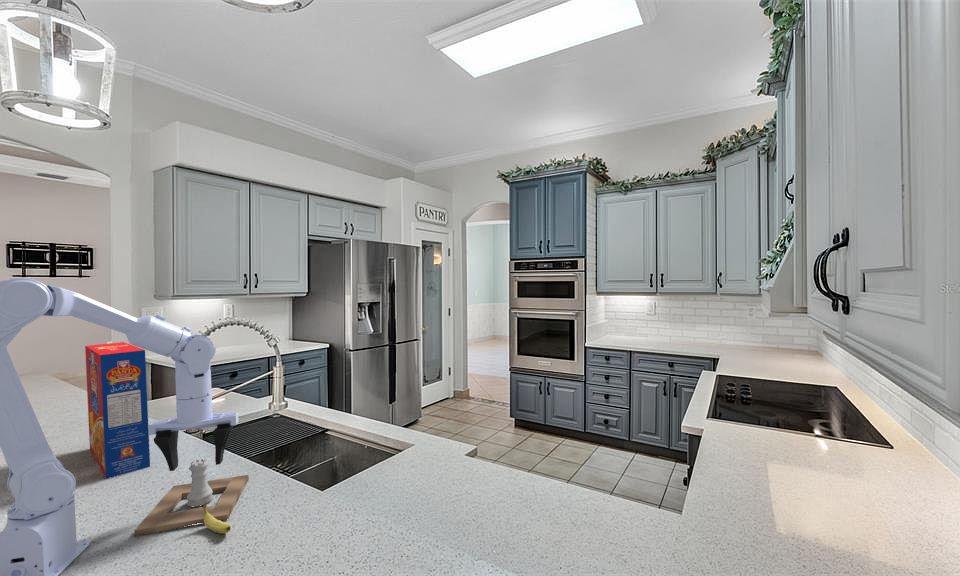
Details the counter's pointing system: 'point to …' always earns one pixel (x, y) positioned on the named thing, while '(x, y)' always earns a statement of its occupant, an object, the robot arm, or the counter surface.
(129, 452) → the blue and red box
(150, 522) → the walnut socket board
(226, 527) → the banana
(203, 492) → the rook chess piece
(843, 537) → the counter surface
